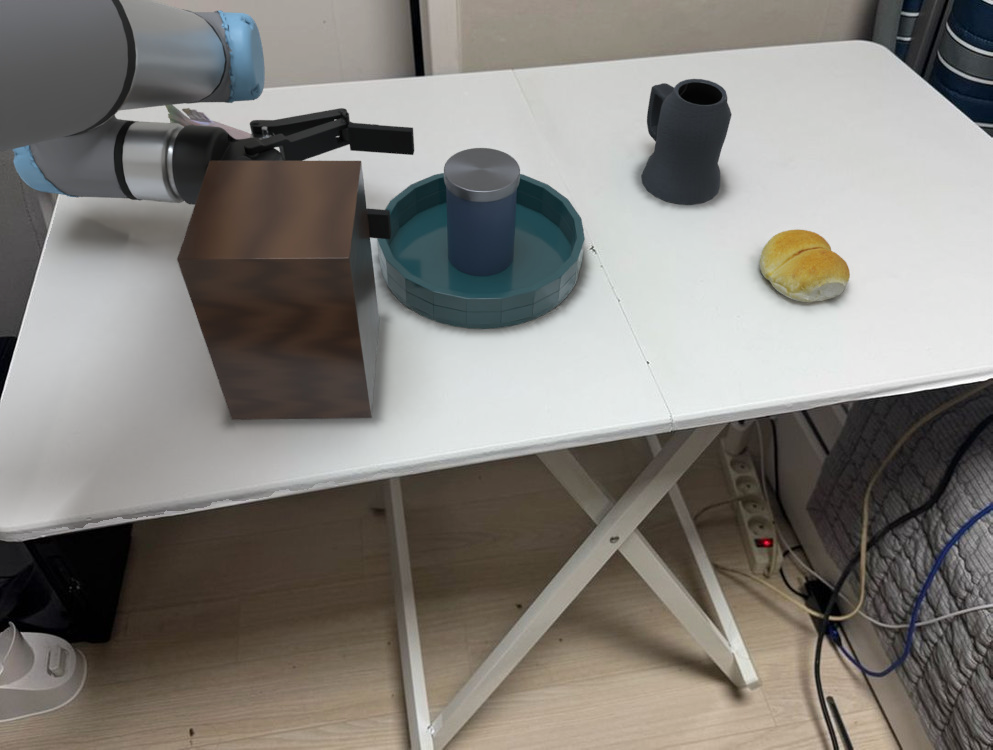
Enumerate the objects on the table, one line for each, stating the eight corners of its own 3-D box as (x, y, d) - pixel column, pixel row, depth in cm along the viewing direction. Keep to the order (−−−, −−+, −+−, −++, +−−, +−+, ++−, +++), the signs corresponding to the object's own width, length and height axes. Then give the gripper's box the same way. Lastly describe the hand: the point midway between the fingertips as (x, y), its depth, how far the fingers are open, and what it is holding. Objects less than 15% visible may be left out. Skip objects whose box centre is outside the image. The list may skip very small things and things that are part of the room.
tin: (445, 277, 83) (443, 192, 76) (446, 232, 88) (443, 147, 80) (517, 277, 84) (522, 191, 76) (513, 232, 88) (517, 147, 81)
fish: (182, 132, 100) (170, 94, 97) (275, 165, 96) (268, 127, 93) (166, 143, 99) (154, 105, 95) (261, 177, 95) (252, 139, 91)
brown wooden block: (231, 419, 71) (176, 259, 58) (253, 321, 79) (209, 160, 66) (371, 417, 72) (349, 258, 58) (379, 320, 80) (361, 160, 66)
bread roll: (809, 241, 90) (821, 211, 87) (856, 296, 84) (870, 266, 81) (741, 254, 88) (750, 224, 85) (783, 311, 82) (795, 280, 79)
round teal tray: (375, 330, 79) (371, 299, 76) (386, 199, 93) (383, 168, 90) (590, 328, 80) (595, 297, 77) (569, 198, 94) (573, 168, 91)
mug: (735, 193, 95) (761, 104, 87) (668, 212, 92) (688, 122, 84) (678, 139, 102) (696, 52, 94) (614, 155, 99) (627, 67, 91)
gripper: (232, 128, 91) (422, 142, 91) (148, 279, 75) (381, 298, 74) (216, 64, 86) (419, 78, 85) (123, 211, 69) (374, 231, 68)
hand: (402, 180), depth 80 cm, fingers open, 13 cm apart
